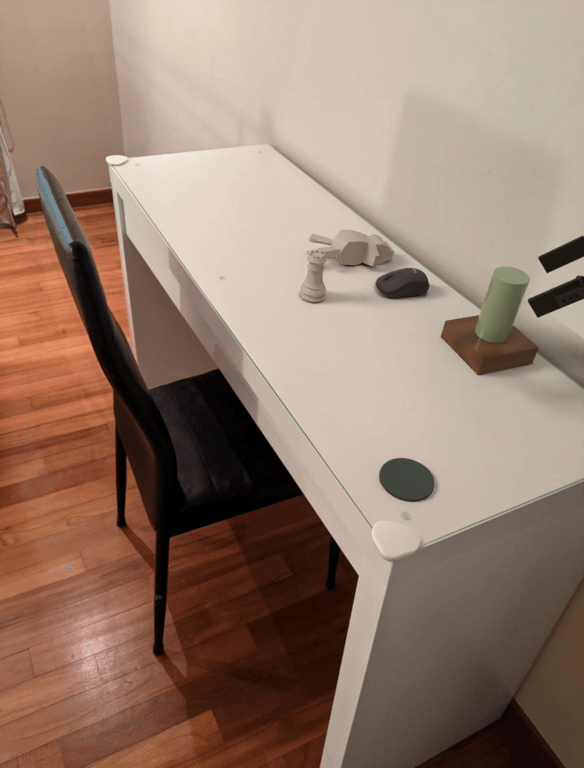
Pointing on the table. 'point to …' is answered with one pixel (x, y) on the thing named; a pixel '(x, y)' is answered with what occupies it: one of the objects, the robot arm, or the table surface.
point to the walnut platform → (487, 347)
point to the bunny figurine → (355, 248)
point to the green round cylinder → (501, 304)
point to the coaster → (406, 479)
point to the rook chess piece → (314, 278)
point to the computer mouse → (403, 283)
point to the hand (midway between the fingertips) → (537, 285)
